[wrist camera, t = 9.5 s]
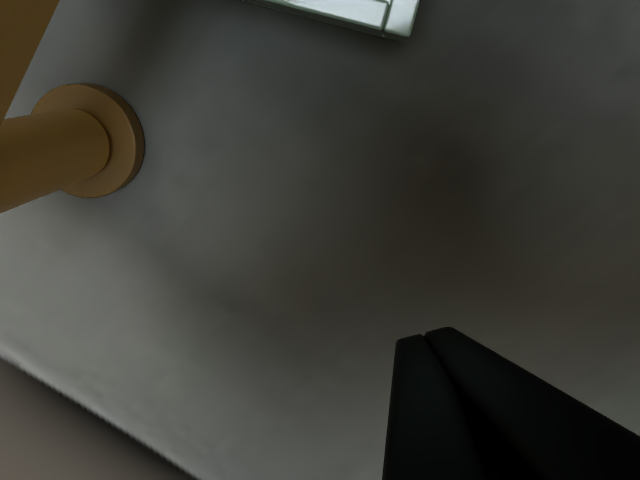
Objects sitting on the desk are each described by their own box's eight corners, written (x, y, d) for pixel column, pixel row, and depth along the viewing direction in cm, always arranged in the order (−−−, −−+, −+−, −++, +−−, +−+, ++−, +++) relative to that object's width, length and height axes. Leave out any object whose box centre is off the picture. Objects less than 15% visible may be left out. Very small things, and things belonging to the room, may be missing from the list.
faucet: (69, 239, 22) (-218, 404, 11) (5, 198, 21) (-348, 328, 11) (314, -205, 17) (202, -627, 6) (234, -265, 16) (-15, -801, 6)
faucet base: (152, 99, 21) (144, 100, 20) (136, 205, 22) (127, 210, 21) (44, 70, 21) (31, 71, 20) (34, 178, 22) (21, 182, 21)
